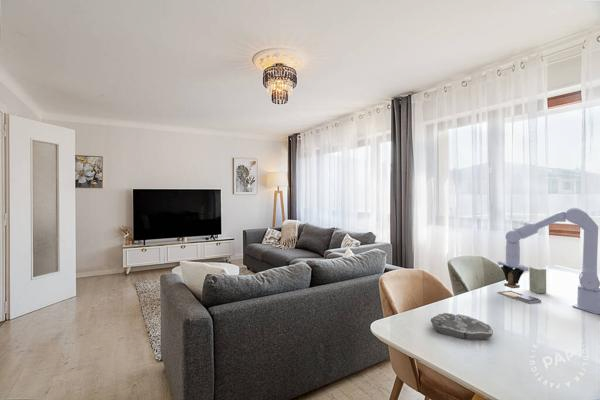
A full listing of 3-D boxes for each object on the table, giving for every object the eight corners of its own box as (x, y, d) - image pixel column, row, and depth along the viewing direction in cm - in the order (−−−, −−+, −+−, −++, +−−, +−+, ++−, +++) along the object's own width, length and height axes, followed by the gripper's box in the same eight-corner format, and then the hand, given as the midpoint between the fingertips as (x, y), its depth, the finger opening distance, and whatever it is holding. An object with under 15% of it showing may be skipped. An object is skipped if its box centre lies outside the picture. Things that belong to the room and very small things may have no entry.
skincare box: (546, 293, 152) (547, 269, 152) (537, 293, 153) (538, 269, 152) (537, 289, 159) (537, 266, 159) (528, 289, 159) (529, 266, 159)
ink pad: (541, 302, 140) (541, 299, 140) (529, 303, 138) (529, 300, 138) (526, 297, 147) (526, 294, 147) (515, 298, 145) (515, 295, 145)
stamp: (519, 287, 148) (519, 272, 148) (512, 288, 147) (512, 273, 147) (511, 285, 153) (511, 270, 152) (504, 285, 151) (504, 271, 151)
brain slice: (482, 324, 115) (482, 316, 115) (498, 345, 99) (498, 336, 99) (427, 318, 121) (427, 310, 121) (432, 337, 105) (433, 328, 105)
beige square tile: (527, 297, 147) (527, 296, 147) (513, 298, 144) (513, 297, 144) (510, 291, 155) (510, 290, 155) (496, 292, 153) (496, 291, 153)
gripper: (493, 252, 156) (492, 278, 156) (520, 258, 142) (520, 287, 142) (504, 251, 157) (503, 278, 158) (532, 257, 143) (531, 286, 144)
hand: (512, 282), depth 150 cm, fingers closed on stamp, 3 cm apart
